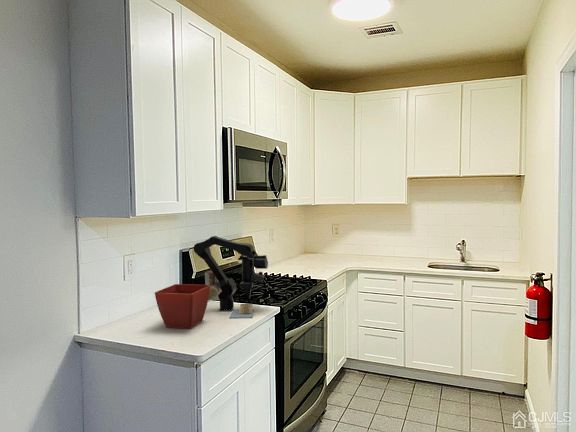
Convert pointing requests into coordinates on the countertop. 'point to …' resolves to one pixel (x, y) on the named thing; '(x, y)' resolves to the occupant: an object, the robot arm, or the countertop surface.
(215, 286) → the coffee box
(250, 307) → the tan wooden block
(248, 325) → the countertop surface
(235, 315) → the mat
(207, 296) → the plant pot
